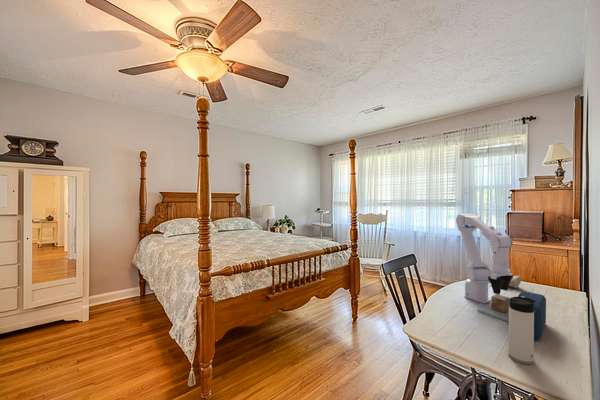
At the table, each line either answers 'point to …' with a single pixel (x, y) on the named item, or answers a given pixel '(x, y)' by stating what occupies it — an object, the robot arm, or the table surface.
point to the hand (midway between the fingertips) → (500, 291)
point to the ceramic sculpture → (515, 281)
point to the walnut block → (500, 303)
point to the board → (494, 312)
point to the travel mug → (521, 329)
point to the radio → (537, 312)
